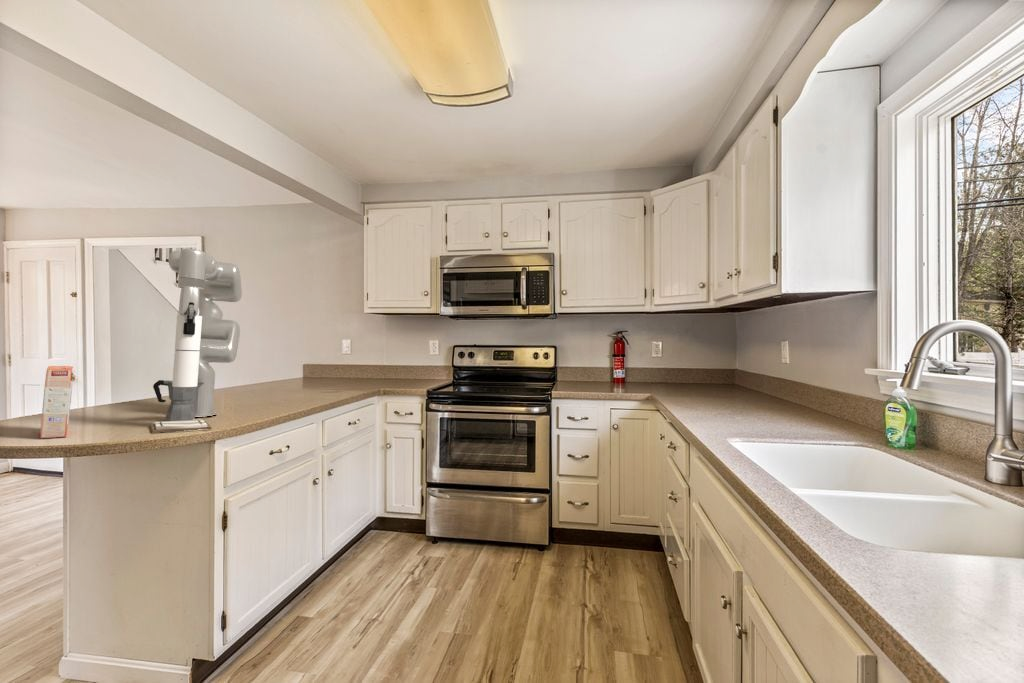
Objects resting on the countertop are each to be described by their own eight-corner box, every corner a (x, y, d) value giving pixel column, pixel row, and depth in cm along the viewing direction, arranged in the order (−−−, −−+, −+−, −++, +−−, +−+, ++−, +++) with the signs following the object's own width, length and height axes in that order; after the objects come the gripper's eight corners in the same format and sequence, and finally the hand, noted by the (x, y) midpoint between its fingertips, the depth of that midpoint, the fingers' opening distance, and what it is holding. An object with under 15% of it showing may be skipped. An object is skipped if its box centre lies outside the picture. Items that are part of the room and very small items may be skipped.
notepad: (150, 426, 157) (150, 421, 157) (205, 423, 167) (205, 418, 167) (152, 433, 146) (152, 427, 146) (210, 430, 157) (211, 424, 157)
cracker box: (68, 437, 134) (73, 368, 135) (39, 439, 130) (44, 367, 131) (68, 430, 145) (73, 365, 145) (41, 431, 140) (47, 365, 141)
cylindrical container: (171, 387, 152) (177, 314, 153) (172, 385, 158) (177, 314, 159) (197, 387, 156) (202, 315, 157) (197, 385, 162) (201, 316, 163)
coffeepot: (200, 418, 177) (203, 373, 178) (202, 422, 170) (205, 375, 170) (150, 420, 167) (153, 372, 168) (150, 424, 160) (154, 374, 161)
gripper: (175, 284, 162) (172, 333, 162) (180, 280, 149) (176, 334, 148) (200, 287, 167) (197, 335, 166) (207, 284, 154) (203, 335, 153)
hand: (187, 334), depth 157 cm, fingers closed on cylindrical container, 7 cm apart
